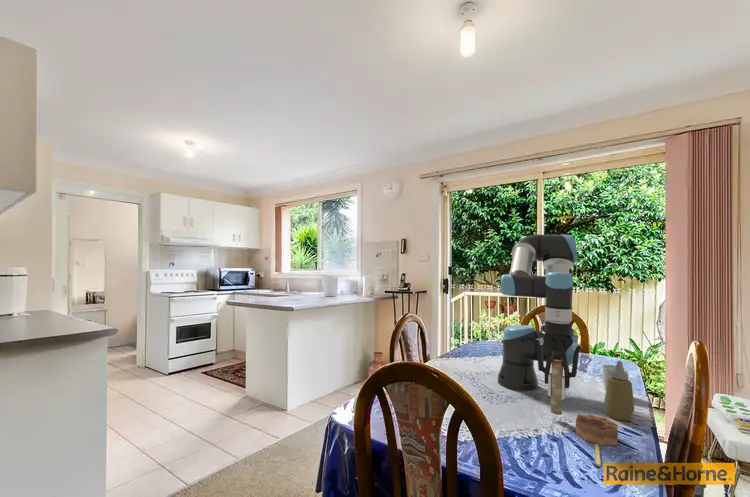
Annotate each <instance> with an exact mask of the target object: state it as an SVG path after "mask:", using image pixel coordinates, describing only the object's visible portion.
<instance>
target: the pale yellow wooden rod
mask: <svg viewBox="0 0 750 497" xmlns="http://www.w3.org/2000/svg"><path fill="white" fill-rule="evenodd" d="M594 452H595V465H596V467H599V468H600V467H601V453H600V445H599V444H595V443H594Z"/></svg>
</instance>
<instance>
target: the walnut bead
mask: <svg viewBox="0 0 750 497" xmlns="http://www.w3.org/2000/svg"><path fill="white" fill-rule="evenodd" d="M618 426H619V425H618V424H617V423H615V422H613V421H611V420H609V419H608V418H606V417H601V416H597V415H593V414H578V415H576V418H575V435H577V436H578V437H580V438H581V439H582V440H584V441H586V442H588V443H591V444H594V445H595V444H597V445H599V446H603V447H608V446H609V447H610V446H618V440H619V434H618V433H619V427H618Z"/></svg>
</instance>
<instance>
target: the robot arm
mask: <svg viewBox="0 0 750 497" xmlns="http://www.w3.org/2000/svg"><path fill="white" fill-rule="evenodd" d="M577 248H578V247H577V243H576V239H575V237H574V236H573V235H571V234H562V233H561V234H531V235H527V236H525V237H523V238H521V239H520V240H519V241H517V242H516V243H515V244H514V246H512V250H511V257H512V261H511V266H510V269H509V272H508V274H507V273H506V274H502V275H501V277H500V293H501V294H502V295H504V296H509V297H510V296H511V297H522V298H523V297H525V298H526V297H527V298H539V299H545V303H544V304H545V305H544V306H545V307H544V309H545V310H544V311H545V312H544V314H545V315H544V323H543V324H542V325H541V326H540V330H536V328H535V326H534V325H528V324H526V325H525V324H517V325H510V326H507V327H505V328H504V329H503V337H502V347H503V348H502V364H501V366H500V370H499V372H498V374H497V383H498V384H499V385H501V386H503V387H504V388H508V389H512V390H515V391H522V392H523V391H525V392H528V391H529V392H530V391H531V392H532V391H536V390H538V389H539V379H538V376H537V374H536V370H535V367H534V366H535V362H537V369H538V371H539V372H542V373H544V383H545V385H547V396H548V397H551V369H552V360H560V361H562V362H563V377H562V397H561V399H562V400H565V399H566V394H567V393H566V389H569V388H570V385H571V382H570V381H571V380H570V379H571V378H576V377H577V373H578V365H579V358H580V356H579V355H580V353H581V350H582V349H583V345H582V344H578V342H579V341H578V340H579V336H578V334H576V333H574V330H575V329H574V328H573V326H572V323H571V322H573V288H574V287H573V286H574V281H573V275H572V273H570V269H571V268H572V267H573V266H574V263H577V261H578V250H577ZM534 261H536V262H542V266H543V267H544V268H546V270H545V271H546V272H545V276H544V275H532V267H533V262H534ZM544 363H545V364H544ZM571 365H572V367H571V371H570V366H571Z"/></svg>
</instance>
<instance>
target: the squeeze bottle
mask: <svg viewBox="0 0 750 497" xmlns="http://www.w3.org/2000/svg"><path fill="white" fill-rule="evenodd" d="M615 366H616V368H615V371H611V377H609V378H608V379H607V387H606V391H605V396H604V402H603V403H604V407H605V409H606V412H607V415H608V416H609V417H610V418H612V419H614V420H618V421H623V422H624V421H625V422H626V421H631V418H632V415H633V414H634V411H635V400H634V393H633V383H632V382H631V381H630V380H629V374H628V372H627V373H625V372H624V369H623V368H624V365H623V361H621V360H617V362H616V365H615Z"/></svg>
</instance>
